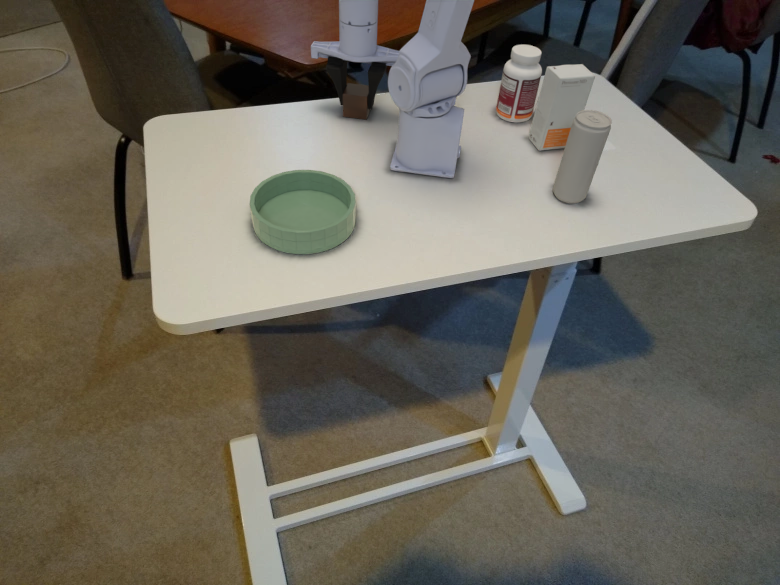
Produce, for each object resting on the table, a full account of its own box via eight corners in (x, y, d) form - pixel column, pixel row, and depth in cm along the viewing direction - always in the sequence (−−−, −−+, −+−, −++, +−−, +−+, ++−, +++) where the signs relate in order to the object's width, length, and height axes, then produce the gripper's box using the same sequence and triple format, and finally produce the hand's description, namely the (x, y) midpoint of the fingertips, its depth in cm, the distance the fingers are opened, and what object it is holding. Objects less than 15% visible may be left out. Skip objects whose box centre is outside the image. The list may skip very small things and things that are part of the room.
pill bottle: (531, 108, 100) (547, 45, 92) (531, 126, 95) (547, 60, 88) (495, 103, 100) (508, 40, 92) (493, 120, 96) (506, 55, 88)
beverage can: (564, 208, 80) (590, 130, 71) (544, 189, 83) (567, 112, 74) (592, 201, 81) (621, 124, 72) (571, 182, 84) (597, 106, 76)
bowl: (363, 198, 79) (364, 176, 76) (343, 261, 69) (343, 239, 67) (270, 185, 80) (268, 163, 77) (238, 245, 70) (234, 223, 68)
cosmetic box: (538, 152, 90) (559, 78, 81) (527, 138, 92) (545, 65, 84) (573, 148, 91) (596, 75, 82) (560, 134, 94) (582, 62, 85)
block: (370, 108, 97) (371, 85, 94) (366, 119, 94) (367, 96, 91) (347, 105, 97) (347, 82, 94) (342, 116, 94) (342, 93, 91)
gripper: (410, 15, 87) (404, 98, 97) (317, 4, 88) (320, 88, 98) (403, 32, 82) (397, 119, 92) (305, 21, 83) (309, 107, 93)
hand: (357, 104), depth 94 cm, fingers closed on block, 4 cm apart
